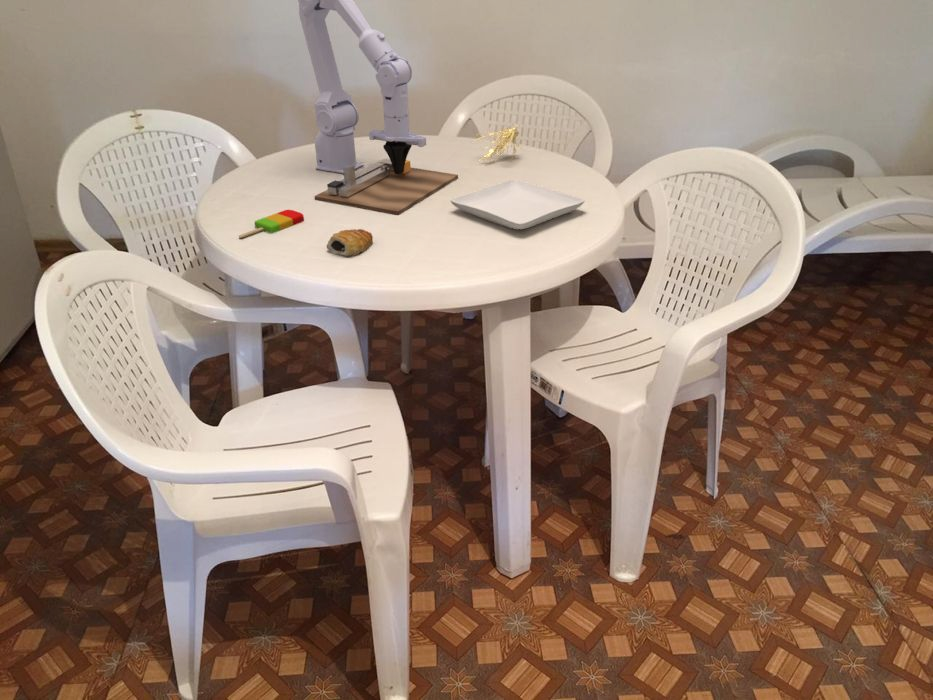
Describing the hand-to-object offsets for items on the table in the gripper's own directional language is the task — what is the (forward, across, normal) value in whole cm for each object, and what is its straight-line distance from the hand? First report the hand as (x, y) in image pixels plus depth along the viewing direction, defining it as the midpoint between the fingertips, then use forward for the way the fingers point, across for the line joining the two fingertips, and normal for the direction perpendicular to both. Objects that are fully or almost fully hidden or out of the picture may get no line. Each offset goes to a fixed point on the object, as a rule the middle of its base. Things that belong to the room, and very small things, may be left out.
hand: (399, 172), depth 174 cm
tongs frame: (+1, -5, -7) cm, 8 cm away
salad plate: (+2, +34, -8) cm, 35 cm away
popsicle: (+2, -8, -39) cm, 39 cm away
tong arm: (+1, -3, -10) cm, 10 cm away
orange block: (+1, -1, +3) cm, 3 cm away
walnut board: (+2, +1, -7) cm, 7 cm away
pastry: (+2, +13, -40) cm, 42 cm away
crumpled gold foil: (+2, +15, +25) cm, 30 cm away
